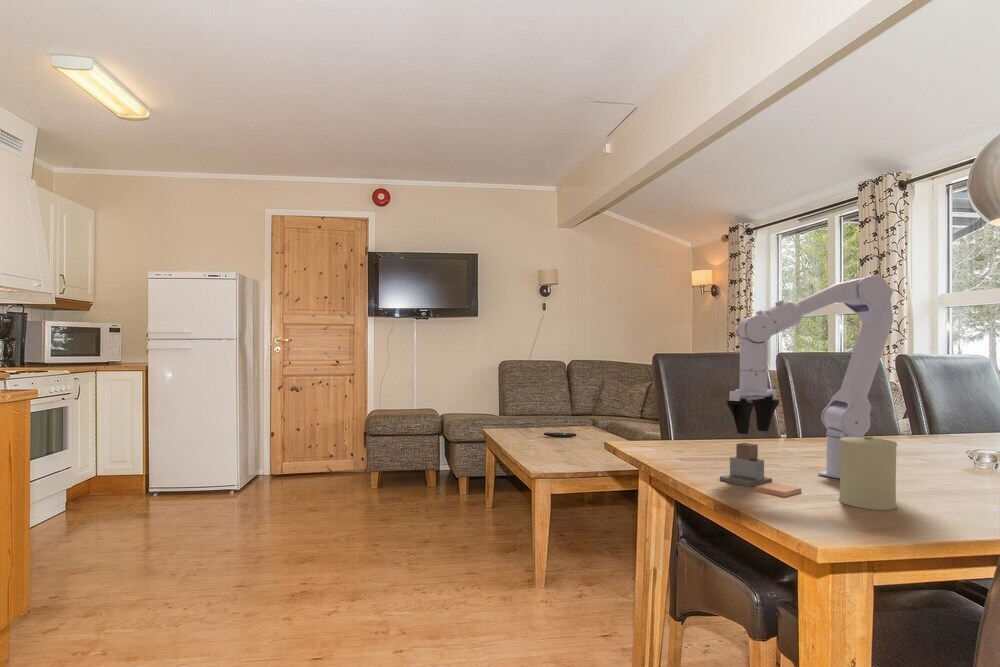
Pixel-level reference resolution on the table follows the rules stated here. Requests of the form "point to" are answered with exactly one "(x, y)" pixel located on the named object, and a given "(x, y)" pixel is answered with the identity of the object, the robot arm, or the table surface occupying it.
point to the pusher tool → (747, 463)
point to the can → (868, 473)
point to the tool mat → (744, 481)
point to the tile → (778, 489)
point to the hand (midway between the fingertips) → (752, 432)
